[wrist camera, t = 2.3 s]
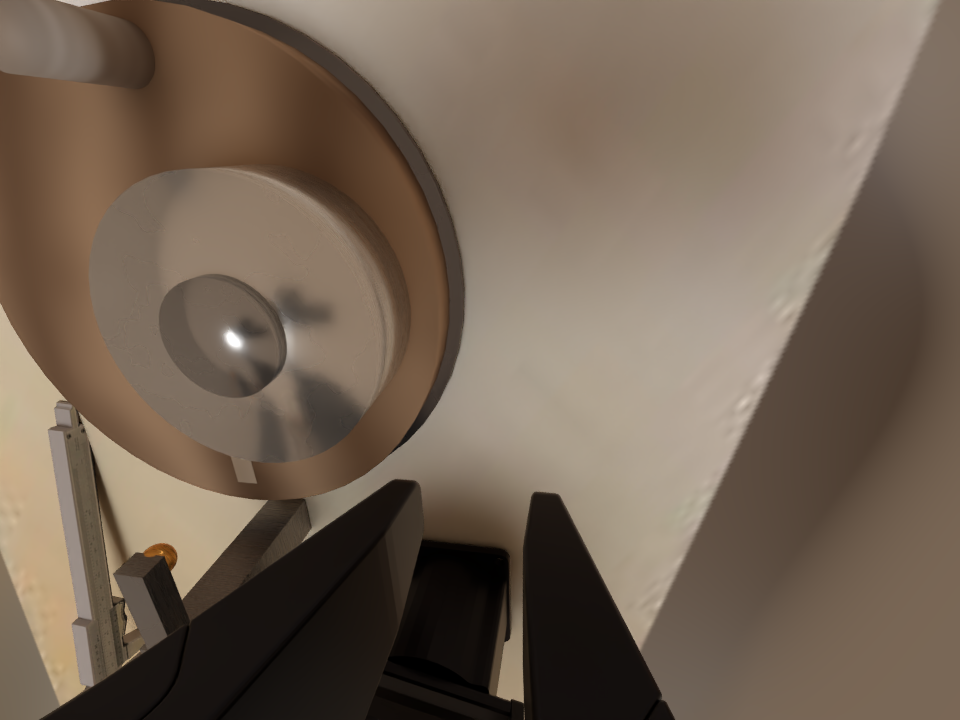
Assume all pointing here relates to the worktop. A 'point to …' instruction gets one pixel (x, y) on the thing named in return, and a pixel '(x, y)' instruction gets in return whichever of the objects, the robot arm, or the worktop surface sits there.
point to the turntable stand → (287, 519)
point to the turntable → (175, 146)
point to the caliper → (88, 555)
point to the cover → (250, 306)
